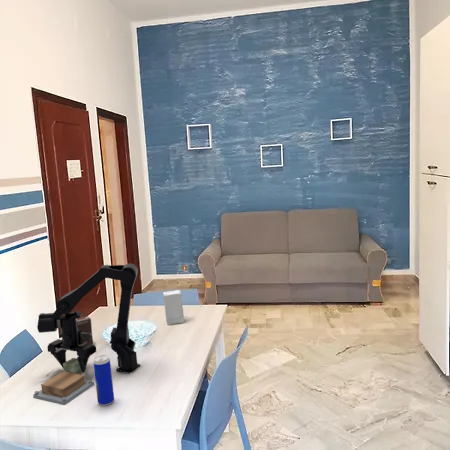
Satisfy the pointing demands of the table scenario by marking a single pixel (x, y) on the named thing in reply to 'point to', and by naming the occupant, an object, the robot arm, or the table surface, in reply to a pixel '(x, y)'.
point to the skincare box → (173, 307)
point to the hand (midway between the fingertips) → (74, 370)
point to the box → (85, 328)
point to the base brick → (63, 384)
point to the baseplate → (63, 399)
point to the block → (72, 366)
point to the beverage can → (103, 380)
